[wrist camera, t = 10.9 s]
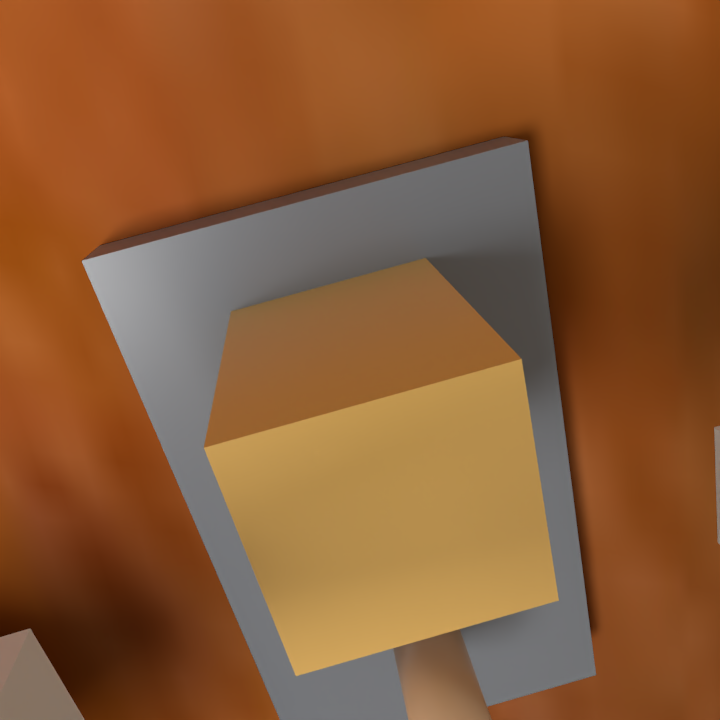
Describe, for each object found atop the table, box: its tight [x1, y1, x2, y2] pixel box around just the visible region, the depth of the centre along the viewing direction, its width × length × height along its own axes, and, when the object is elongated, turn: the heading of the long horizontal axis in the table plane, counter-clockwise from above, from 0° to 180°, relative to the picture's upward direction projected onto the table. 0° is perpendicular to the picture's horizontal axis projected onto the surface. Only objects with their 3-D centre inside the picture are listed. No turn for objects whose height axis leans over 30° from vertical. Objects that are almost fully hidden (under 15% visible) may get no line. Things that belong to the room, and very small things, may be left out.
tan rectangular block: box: [204, 258, 559, 676], centre depth 16 cm, size 6×6×8 cm
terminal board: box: [82, 136, 596, 720], centre depth 20 cm, size 13×22×8 cm, turn 14°
